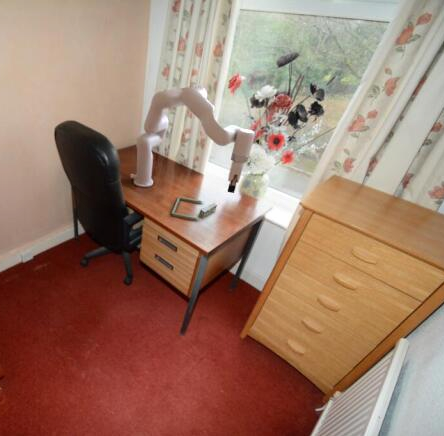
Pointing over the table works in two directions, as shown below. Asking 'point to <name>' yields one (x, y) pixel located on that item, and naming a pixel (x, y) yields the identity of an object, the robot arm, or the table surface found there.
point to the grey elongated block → (207, 210)
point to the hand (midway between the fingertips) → (230, 191)
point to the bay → (182, 214)
